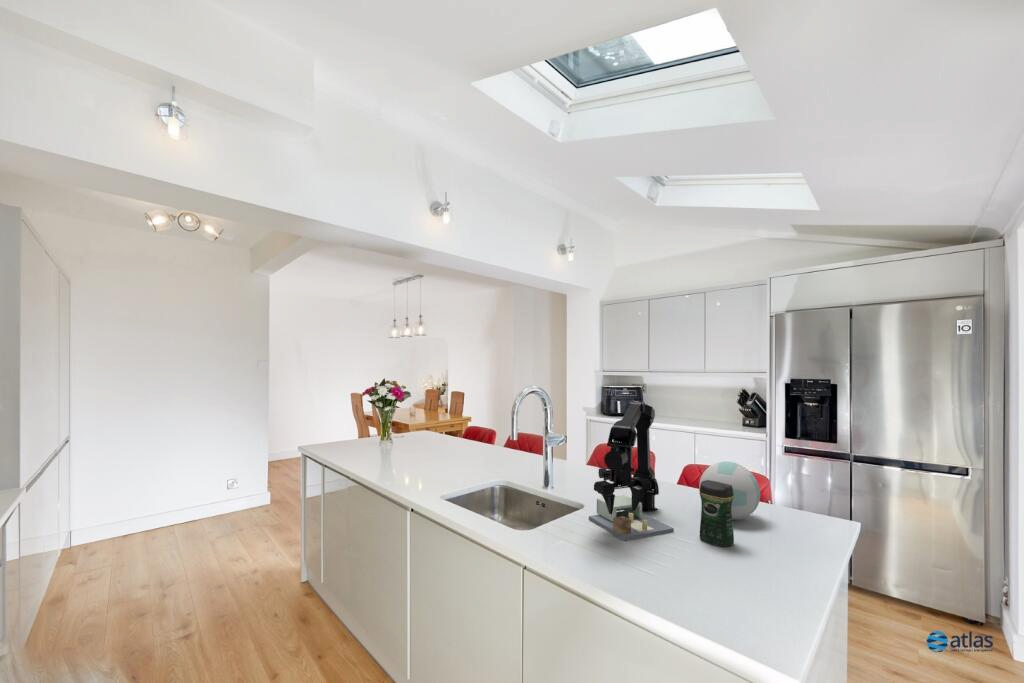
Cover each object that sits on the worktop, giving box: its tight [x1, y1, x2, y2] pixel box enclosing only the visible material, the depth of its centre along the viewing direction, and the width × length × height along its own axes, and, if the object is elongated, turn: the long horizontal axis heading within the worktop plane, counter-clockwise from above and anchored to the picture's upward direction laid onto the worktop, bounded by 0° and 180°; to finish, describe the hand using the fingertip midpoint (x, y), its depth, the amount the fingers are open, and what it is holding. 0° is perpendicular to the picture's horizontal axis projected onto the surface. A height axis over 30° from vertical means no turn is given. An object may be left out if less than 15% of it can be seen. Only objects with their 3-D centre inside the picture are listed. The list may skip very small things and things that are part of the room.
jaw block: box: [613, 516, 631, 535], centre depth 147 cm, size 4×4×4 cm
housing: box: [596, 494, 643, 522], centre depth 163 cm, size 12×14×5 cm
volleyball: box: [698, 461, 761, 521], centre depth 165 cm, size 20×20×20 cm
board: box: [588, 510, 675, 542], centre depth 155 cm, size 20×20×4 cm
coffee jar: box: [698, 480, 735, 547], centre depth 143 cm, size 10×8×19 cm
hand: (622, 512), depth 147 cm, fingers open, 9 cm apart
